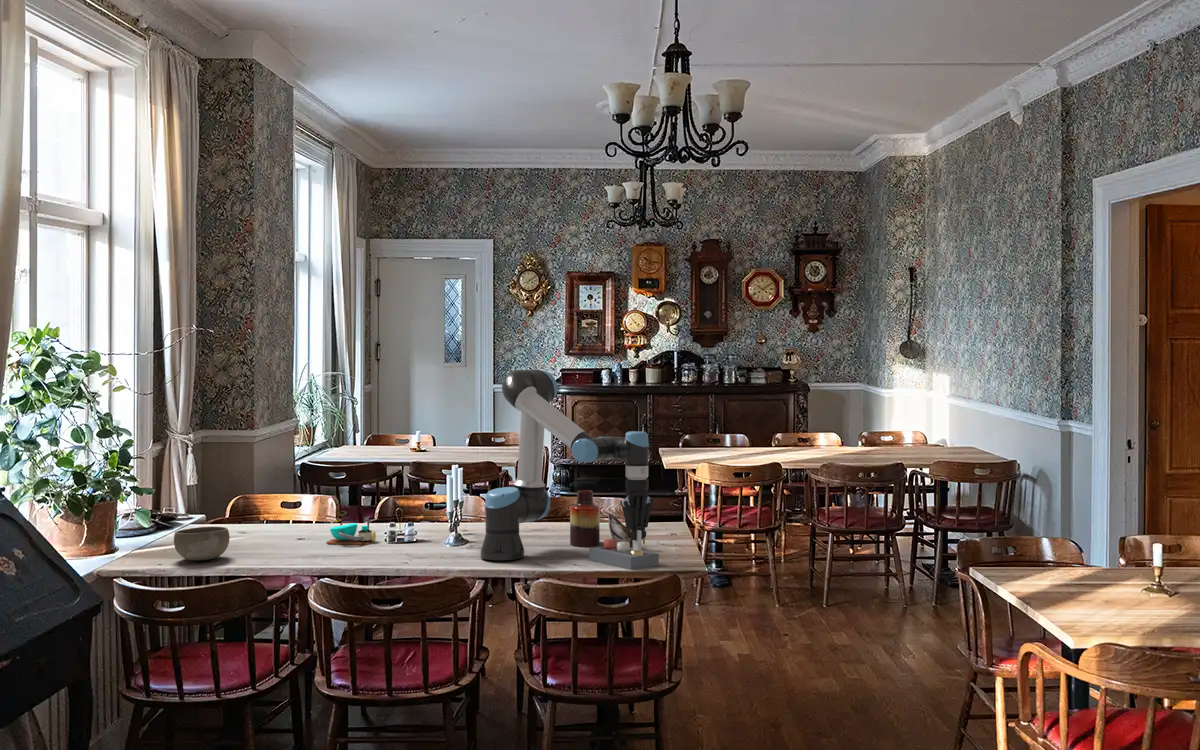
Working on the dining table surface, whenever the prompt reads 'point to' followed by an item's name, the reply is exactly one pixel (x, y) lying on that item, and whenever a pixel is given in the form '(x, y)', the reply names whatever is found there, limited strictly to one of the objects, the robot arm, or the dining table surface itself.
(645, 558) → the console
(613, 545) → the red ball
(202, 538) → the bowl
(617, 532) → the decorative duck model
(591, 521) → the vase
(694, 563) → the dining table surface
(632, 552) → the gold rounded piece
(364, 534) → the contraption on wooden base
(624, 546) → the ivory button
